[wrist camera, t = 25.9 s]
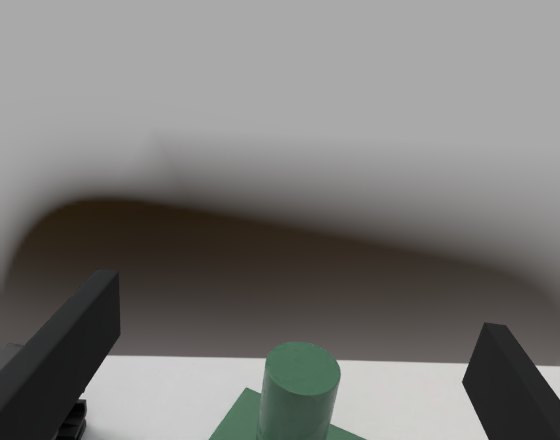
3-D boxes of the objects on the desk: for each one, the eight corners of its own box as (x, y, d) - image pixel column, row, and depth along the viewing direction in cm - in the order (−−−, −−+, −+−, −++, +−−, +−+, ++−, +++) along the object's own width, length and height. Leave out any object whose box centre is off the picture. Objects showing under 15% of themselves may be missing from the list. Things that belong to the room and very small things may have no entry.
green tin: (238, 491, 36) (252, 375, 32) (267, 439, 42) (283, 332, 37) (302, 525, 34) (327, 407, 30) (324, 465, 40) (349, 357, 35)
